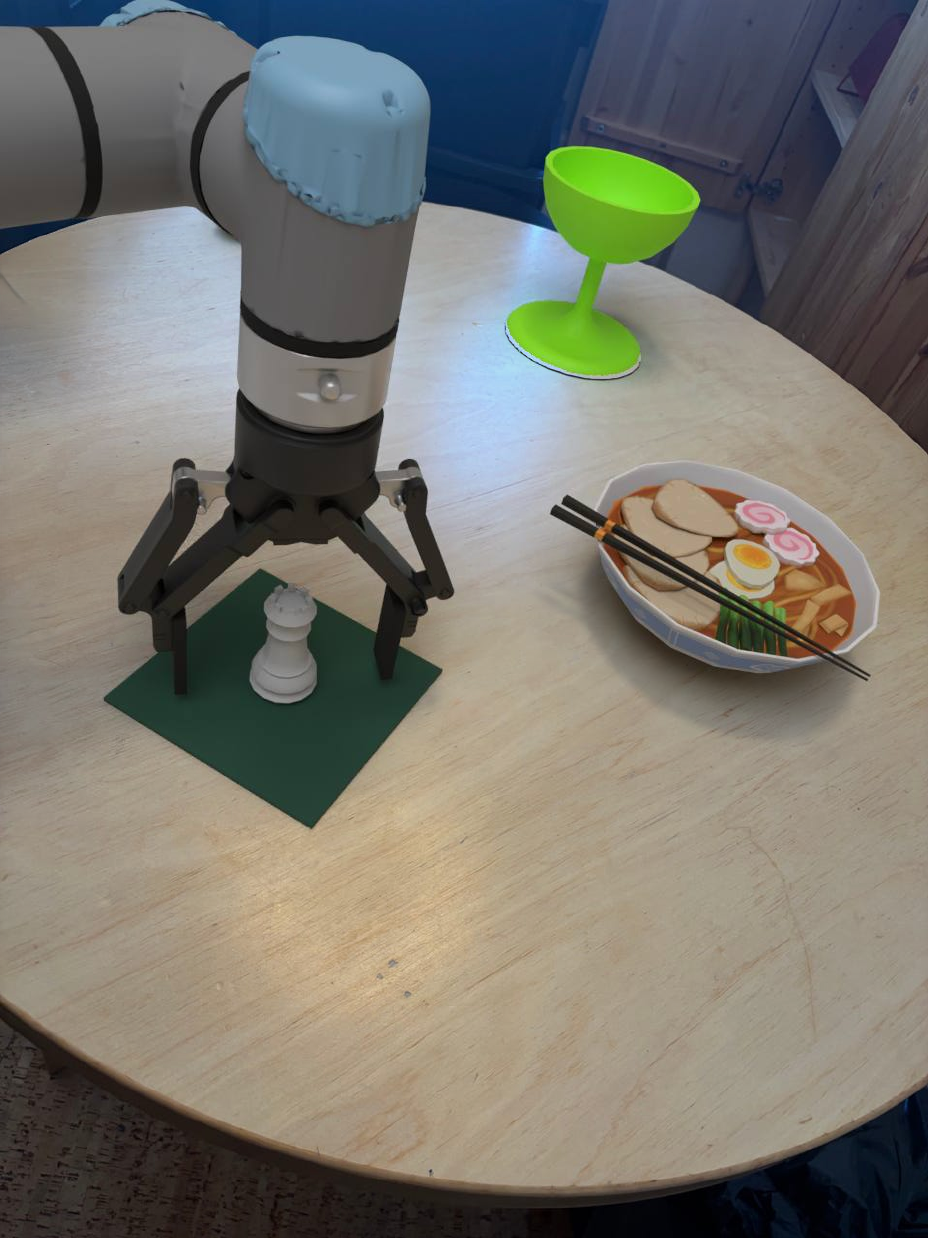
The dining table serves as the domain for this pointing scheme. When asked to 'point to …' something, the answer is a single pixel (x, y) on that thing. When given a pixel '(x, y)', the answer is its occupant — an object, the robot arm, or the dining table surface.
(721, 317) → the dining table surface
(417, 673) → the mat
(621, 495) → the ramen bowl
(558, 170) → the wineglass
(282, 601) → the rook chess piece
